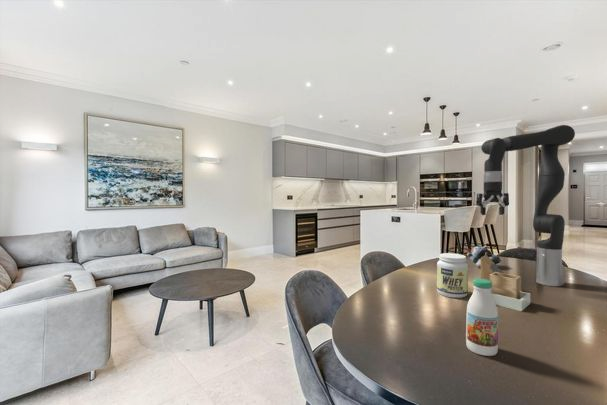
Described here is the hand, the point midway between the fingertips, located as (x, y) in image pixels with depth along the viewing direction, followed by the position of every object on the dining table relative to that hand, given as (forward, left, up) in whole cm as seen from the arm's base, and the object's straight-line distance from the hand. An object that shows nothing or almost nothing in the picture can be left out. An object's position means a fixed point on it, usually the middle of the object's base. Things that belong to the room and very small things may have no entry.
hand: (492, 214), depth 142 cm
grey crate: (+10, +24, -33) cm, 42 cm away
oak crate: (+10, +24, -32) cm, 41 cm away
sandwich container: (+3, +12, -34) cm, 36 cm away
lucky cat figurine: (-14, -30, -33) cm, 47 cm away
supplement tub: (+26, +14, -33) cm, 45 cm away
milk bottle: (+40, +59, -33) cm, 79 cm away
